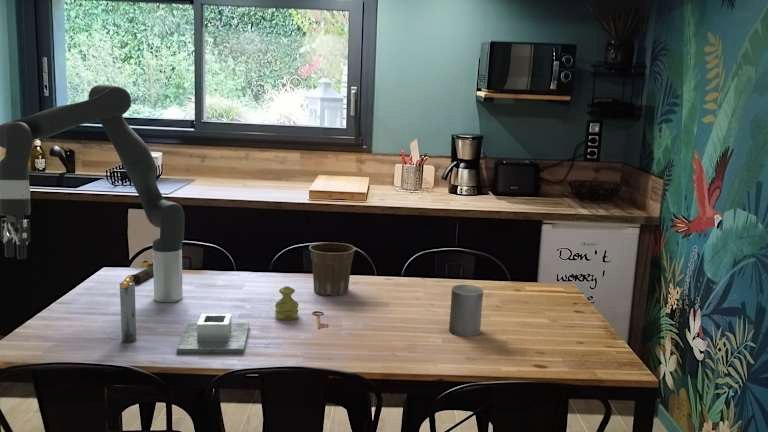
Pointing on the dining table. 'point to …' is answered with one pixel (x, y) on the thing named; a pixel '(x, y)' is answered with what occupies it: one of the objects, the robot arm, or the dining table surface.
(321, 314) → the key
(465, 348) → the dining table surface
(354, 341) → the dining table surface
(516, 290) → the dining table surface
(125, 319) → the silver grey upright block
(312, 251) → the plant pot
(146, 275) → the hand tool
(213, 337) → the candle holder
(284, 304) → the green scale weight
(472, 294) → the pillar candle
